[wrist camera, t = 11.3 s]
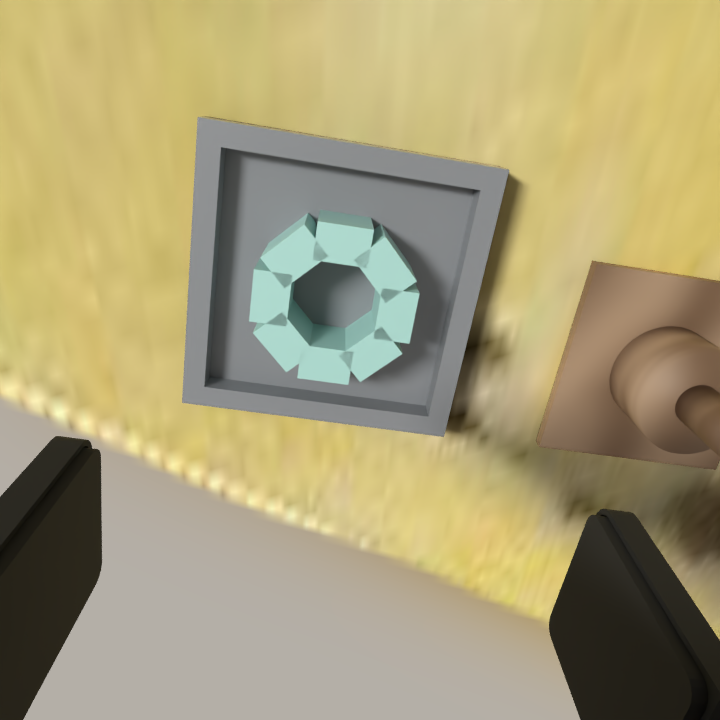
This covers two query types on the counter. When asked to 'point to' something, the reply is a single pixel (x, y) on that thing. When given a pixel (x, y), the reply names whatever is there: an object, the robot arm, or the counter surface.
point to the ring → (321, 342)
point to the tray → (332, 269)
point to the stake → (640, 370)
